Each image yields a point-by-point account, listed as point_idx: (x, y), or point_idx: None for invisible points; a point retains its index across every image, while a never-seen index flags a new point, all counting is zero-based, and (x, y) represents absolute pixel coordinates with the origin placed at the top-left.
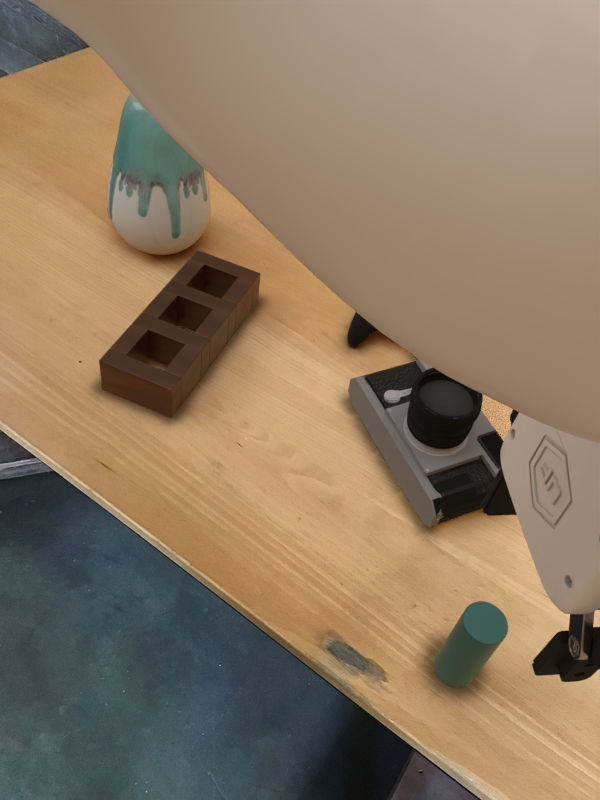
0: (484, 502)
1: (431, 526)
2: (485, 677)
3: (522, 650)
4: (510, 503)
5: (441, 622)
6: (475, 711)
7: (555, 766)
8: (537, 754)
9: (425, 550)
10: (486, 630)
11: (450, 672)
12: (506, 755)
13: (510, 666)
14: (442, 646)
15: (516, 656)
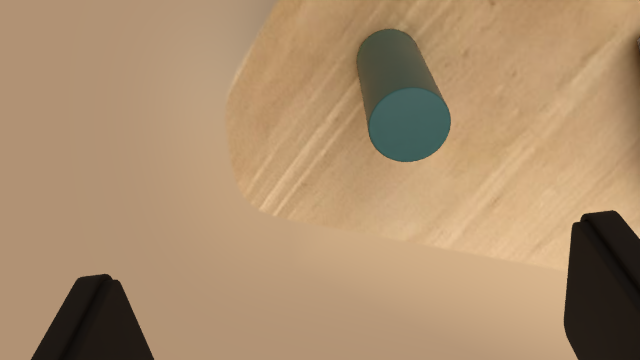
0: (617, 229)
1: (638, 43)
2: None
3: None
4: (596, 310)
5: (460, 46)
6: (324, 83)
7: (264, 174)
8: (276, 156)
9: (593, 29)
10: (393, 125)
11: (366, 53)
12: (269, 117)
13: None
14: (407, 44)
15: None
